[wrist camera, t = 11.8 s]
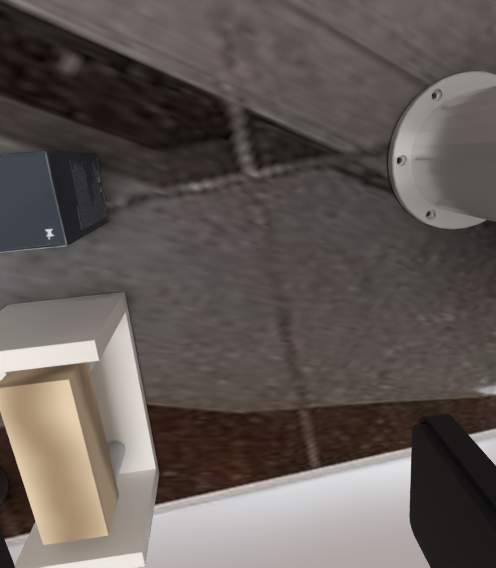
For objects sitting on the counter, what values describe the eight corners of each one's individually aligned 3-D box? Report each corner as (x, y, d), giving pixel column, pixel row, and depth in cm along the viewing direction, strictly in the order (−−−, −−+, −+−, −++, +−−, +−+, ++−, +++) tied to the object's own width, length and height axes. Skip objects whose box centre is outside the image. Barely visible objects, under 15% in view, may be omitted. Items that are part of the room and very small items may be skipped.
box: (97, 151, 32) (47, 149, 22) (110, 222, 34) (69, 249, 24) (-5, 160, 32) (-103, 162, 22) (14, 231, 34) (-69, 263, 24)
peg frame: (124, 291, 36) (94, 340, 26) (159, 473, 42) (144, 566, 33) (8, 304, 35) (-66, 358, 26) (60, 487, 41) (17, 585, 32)
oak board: (85, 352, 31) (68, 379, 28) (119, 495, 36) (108, 535, 32) (19, 360, 31) (-7, 388, 27) (61, 503, 35) (43, 545, 32)
